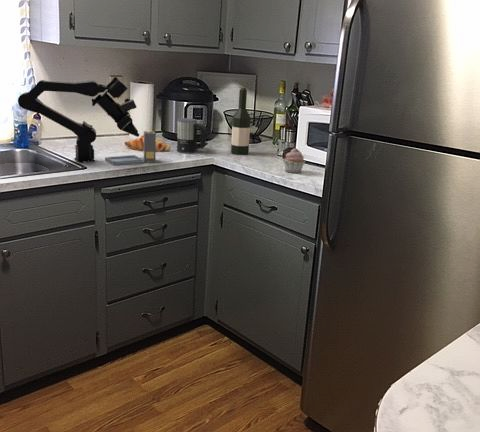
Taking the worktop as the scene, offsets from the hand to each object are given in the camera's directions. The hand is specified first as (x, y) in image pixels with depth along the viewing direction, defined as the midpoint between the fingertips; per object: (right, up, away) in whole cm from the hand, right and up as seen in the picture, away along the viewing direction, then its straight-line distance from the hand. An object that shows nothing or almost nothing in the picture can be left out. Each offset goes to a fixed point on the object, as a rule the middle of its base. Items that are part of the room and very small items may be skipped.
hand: (138, 134), depth 233 cm
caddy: (+4, -11, +5) cm, 12 cm away
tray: (-5, -11, 0) cm, 13 cm away
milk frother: (+20, -3, +31) cm, 37 cm away
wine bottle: (+42, -5, +31) cm, 52 cm away
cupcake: (+64, -16, +1) cm, 66 cm away
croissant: (0, -4, +27) cm, 27 cm away
